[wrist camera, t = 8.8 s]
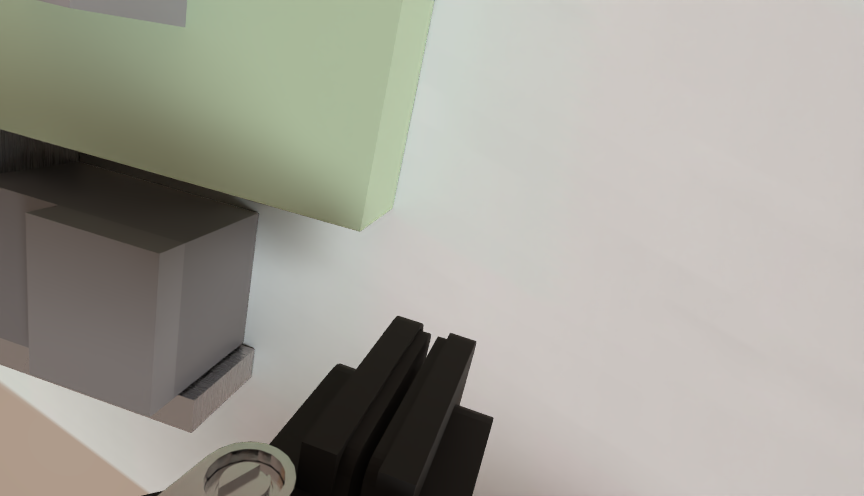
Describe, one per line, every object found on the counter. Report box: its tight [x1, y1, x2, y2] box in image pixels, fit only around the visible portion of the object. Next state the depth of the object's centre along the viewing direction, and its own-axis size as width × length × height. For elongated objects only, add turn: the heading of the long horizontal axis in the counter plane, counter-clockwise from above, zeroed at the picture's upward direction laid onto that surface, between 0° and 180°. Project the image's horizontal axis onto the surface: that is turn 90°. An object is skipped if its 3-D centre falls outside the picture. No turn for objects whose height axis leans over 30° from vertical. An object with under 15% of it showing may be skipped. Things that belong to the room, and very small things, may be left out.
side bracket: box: [0, 129, 255, 433], centre depth 18 cm, size 8×8×4 cm
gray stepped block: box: [0, 162, 259, 417], centre depth 17 cm, size 5×7×5 cm
